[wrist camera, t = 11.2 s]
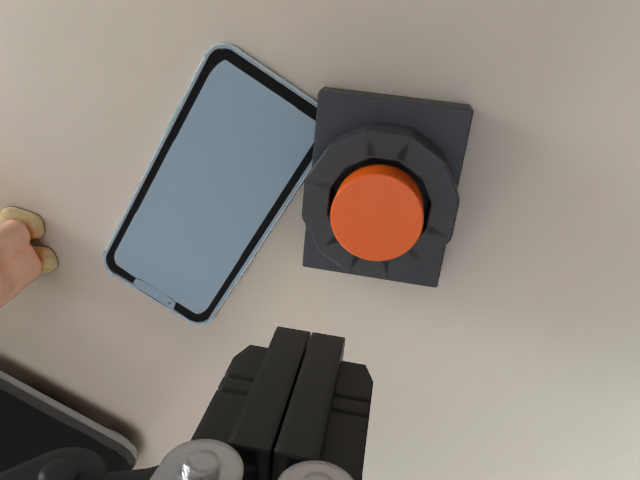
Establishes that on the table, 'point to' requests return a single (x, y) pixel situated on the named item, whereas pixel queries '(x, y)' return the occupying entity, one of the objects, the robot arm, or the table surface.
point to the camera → (52, 429)
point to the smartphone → (214, 185)
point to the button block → (392, 149)
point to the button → (377, 212)
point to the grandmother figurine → (21, 252)
